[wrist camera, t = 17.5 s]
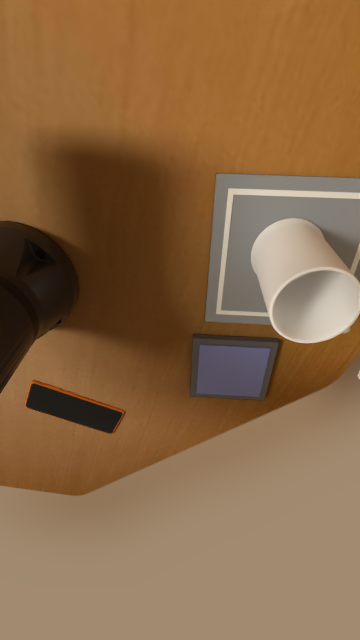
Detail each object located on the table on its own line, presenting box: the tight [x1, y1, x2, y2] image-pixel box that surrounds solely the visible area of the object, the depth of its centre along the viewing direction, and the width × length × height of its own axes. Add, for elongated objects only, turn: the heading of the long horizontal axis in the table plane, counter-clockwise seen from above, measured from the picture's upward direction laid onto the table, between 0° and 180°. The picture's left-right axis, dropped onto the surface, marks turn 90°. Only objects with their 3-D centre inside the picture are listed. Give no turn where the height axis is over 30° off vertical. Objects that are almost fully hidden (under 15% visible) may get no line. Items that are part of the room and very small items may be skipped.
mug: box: [251, 218, 360, 343], centre depth 34 cm, size 12×8×12 cm
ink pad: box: [190, 334, 279, 401], centre depth 49 cm, size 12×12×1 cm
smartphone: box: [25, 380, 125, 434], centre depth 58 cm, size 8×17×1 cm, turn 65°
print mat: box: [205, 173, 360, 325], centre depth 39 cm, size 19×19×1 cm
